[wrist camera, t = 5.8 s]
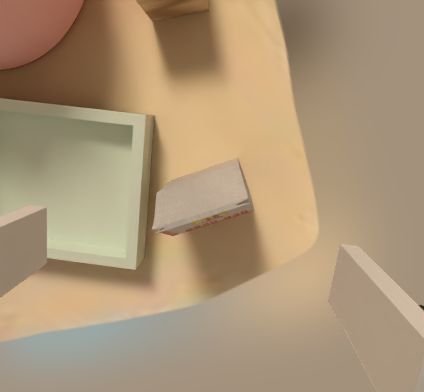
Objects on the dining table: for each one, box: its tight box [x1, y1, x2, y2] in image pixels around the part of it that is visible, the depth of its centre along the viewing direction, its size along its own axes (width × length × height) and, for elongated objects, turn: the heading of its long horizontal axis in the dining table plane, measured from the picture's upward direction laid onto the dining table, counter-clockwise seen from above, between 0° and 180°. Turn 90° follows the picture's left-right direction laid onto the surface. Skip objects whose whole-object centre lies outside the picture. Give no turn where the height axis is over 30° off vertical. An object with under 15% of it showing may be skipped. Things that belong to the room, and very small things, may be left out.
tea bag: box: [152, 158, 254, 236], centre depth 26 cm, size 4×7×10 cm, turn 109°
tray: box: [0, 98, 154, 270], centre depth 30 cm, size 16×14×3 cm
